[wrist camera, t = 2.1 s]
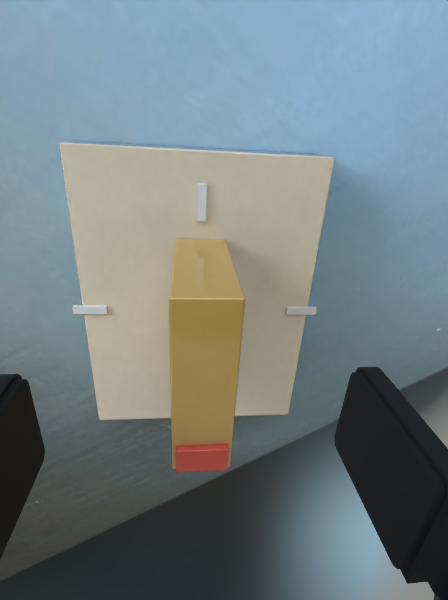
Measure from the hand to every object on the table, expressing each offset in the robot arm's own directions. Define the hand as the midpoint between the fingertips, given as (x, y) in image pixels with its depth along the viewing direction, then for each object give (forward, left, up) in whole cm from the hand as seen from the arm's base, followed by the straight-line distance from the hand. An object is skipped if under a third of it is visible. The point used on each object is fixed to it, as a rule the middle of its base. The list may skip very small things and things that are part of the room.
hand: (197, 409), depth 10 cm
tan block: (0, 0, -6) cm, 6 cm away
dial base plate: (0, 0, -8) cm, 8 cm away
